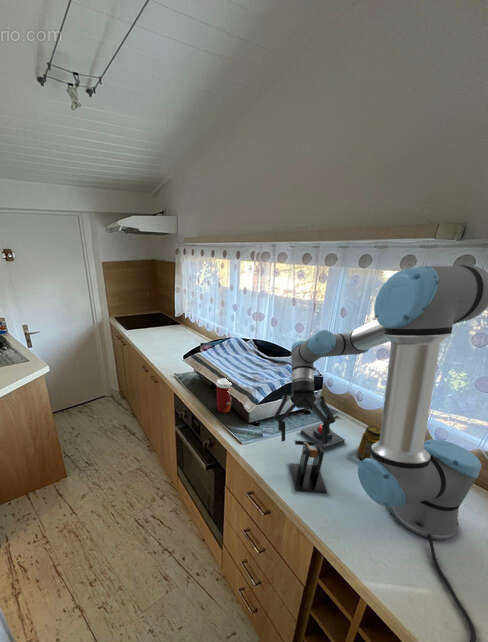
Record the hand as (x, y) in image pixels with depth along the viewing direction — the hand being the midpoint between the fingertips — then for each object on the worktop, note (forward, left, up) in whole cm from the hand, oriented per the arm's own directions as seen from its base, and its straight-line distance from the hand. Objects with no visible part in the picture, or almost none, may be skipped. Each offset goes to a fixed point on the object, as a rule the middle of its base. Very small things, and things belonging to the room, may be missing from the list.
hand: (303, 442), depth 103 cm
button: (+11, -12, -4) cm, 17 cm away
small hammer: (-6, +1, +1) cm, 6 cm away
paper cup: (+36, +22, -8) cm, 43 cm away
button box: (+11, -12, -7) cm, 18 cm away
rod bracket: (-10, +2, -7) cm, 13 cm away
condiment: (-1, -22, -8) cm, 24 cm away
